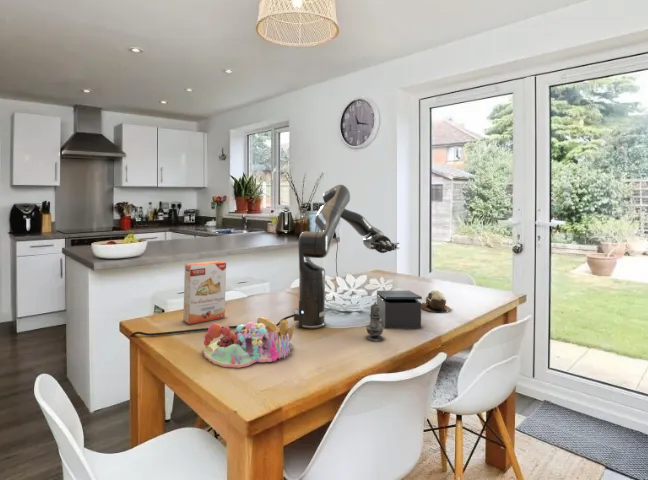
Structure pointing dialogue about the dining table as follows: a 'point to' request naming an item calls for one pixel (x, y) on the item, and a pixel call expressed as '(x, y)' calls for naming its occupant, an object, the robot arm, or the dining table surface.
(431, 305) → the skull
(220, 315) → the cracker box
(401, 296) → the lid
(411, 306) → the dark grey box
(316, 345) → the dining table surface
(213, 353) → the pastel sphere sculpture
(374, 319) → the salt shaker
